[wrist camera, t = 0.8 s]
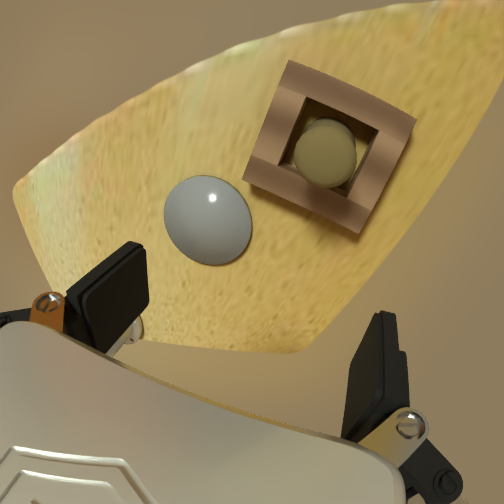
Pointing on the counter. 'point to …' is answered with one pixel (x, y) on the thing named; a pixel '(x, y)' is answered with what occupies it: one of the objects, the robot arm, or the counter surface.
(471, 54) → the counter surface
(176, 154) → the counter surface
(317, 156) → the cork
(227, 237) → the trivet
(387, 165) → the frame
